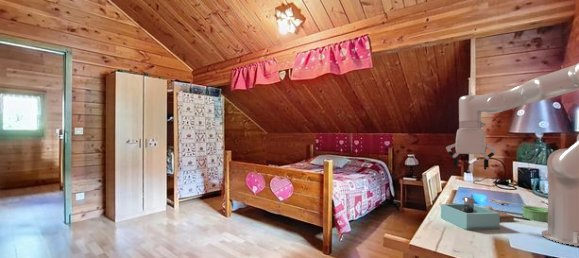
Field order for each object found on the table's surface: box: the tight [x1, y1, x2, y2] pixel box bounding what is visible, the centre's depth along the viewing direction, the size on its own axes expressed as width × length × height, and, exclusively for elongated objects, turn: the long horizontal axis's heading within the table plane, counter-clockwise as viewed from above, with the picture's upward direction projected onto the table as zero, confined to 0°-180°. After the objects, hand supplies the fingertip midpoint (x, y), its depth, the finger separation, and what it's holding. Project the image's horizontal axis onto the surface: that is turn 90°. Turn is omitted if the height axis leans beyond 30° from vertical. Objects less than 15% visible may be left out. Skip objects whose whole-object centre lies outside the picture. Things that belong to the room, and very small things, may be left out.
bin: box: [440, 203, 501, 231], centre depth 110 cm, size 14×14×6 cm
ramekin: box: [521, 205, 548, 223], centre depth 117 cm, size 9×9×4 cm
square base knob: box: [461, 196, 477, 213], centre depth 110 cm, size 5×5×9 cm
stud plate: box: [484, 205, 515, 222], centre depth 119 cm, size 12×12×5 cm
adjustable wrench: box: [488, 198, 548, 210], centre depth 136 cm, size 25×6×2 cm, turn 44°
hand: (470, 168), depth 110 cm, fingers open, 9 cm apart
